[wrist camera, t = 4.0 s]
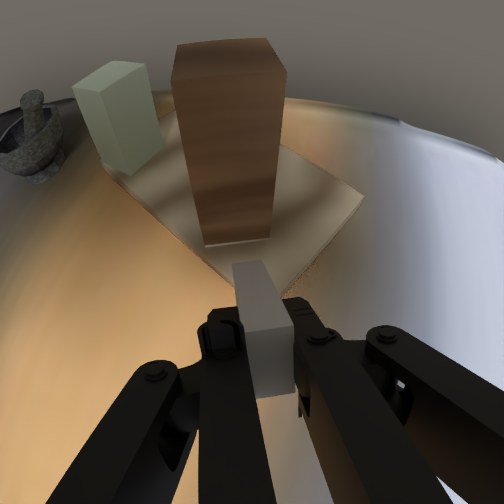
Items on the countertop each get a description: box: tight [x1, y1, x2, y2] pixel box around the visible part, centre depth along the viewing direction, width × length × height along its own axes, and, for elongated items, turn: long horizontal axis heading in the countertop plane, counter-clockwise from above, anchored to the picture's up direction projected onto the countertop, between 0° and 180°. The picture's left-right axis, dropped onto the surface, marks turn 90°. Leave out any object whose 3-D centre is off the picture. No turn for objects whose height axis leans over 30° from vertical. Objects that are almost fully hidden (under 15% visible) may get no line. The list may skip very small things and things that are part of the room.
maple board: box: [99, 109, 364, 298], centre depth 28 cm, size 24×14×2 cm, turn 48°
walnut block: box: [171, 38, 287, 248], centre depth 18 cm, size 5×5×14 cm
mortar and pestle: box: [0, 90, 65, 185], centre depth 25 cm, size 11×9×12 cm
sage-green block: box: [72, 61, 164, 177], centre depth 24 cm, size 5×5×10 cm
